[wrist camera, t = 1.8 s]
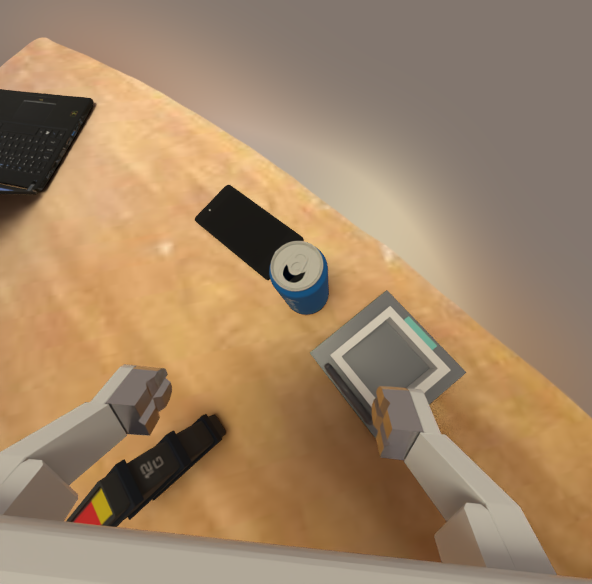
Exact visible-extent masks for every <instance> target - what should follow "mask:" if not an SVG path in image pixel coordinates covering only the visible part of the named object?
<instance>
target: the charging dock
mask: <svg viewBox="0 0 592 584" xmlns="http://www.w3.org/2000/svg"><path fill="white" fill-rule="evenodd" d="M310 354H311V355H312V356H313V358H314V359H315V360H316V362H317V363H318V364H319V366H320V367H321V368H322V369H323V371H324V372H325V373H326V375H327V376H328V377H329V379H330V380H331V381H332V382H333V384H334V385H335V386H336V388H337V389H338V390H339V392H340V393H341V394H342V395H343V397H344V398H345V399H346V401H347V402H348V403H349V405H350V406H351V407H352V408H353V410H354V411H355V412H356V414H357V415H358V416H359V418H360V419H361V420H362V421H363V423H364V424H365V425H366V427H367V428H368V429H369V431H370V432H371V433H372V434H373V436H374V437H375V438H376V436H377V433H378V430H377V429H376V428H375V427H374V425H373V420H372V404H373V400H374V399H375V398H377V394H376V391H377V388H378V387H379V386H386V387H401V388H409V389H421V390H422V391H423V392H424V394H425V397H426V399H427V401H428V404H430V403H431V402H433V401H434V400H435V399H436V398H437V397H438V396H440V395H441V394H442V393H443V392H444V391H445V390H447V389H448V388H449V387H450V386H451V385H452V384H454V383H455V382H456V381H457V380H458V379H459V378H461V377H462V376H463V375H464V374H465V373H466V372H465V371H464V370H463V369H462V367H461V366H460V365H459V364H458V363H457V362H456V361H455V360H454V359H453V358H452V357H451V356H450V355H449V354H448V353H447V352H446V351H445V350H444V349H443V348H442V347H441V346H440V345H439V344H438V343H437V342H436V341H435V339H434V338H433V337H432V336H431V335H430V334H429V333H428V332H427V331H426V330H425V329H424V328H423V327H422V326H421V325H420V324H419V323H418V322H417V321H416V320H415V319H414V318H413V317H412V316H411V315H410V314H409V313H408V312H407V310H406V309H405V308H404V307H403V306H402V305H401V304H400V303H399V302H398V301H397V300H396V299H395V298H394V297H393V296H392V295H391V294H390V293H389V292H388V291H387V290H386V291H385V292H384V293H383V294H381V295H380V296H379V297H378V298H377V299H375V300H374V301H373V302H372V303H370V304H369V305H368V306H367V307H365V308H364V309H363V310H362V311H361V312H359V313H358V314H357V315H356V316H354V317H353V318H352V319H351V320H350V321H348V322H347V323H346V324H345V325H343V326H342V327H341V328H340V329H338V330H337V331H336V332H335V333H334V334H332V335H331V336H330V337H329V338H327V339H326V340H325V341H324V342H322V343H321V344H320V345H319V346H318V347H316V348H315V349H314V350H313V351H311V352H310Z"/></svg>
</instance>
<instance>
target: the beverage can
mask: <svg viewBox="0 0 592 584" xmlns="http://www.w3.org/2000/svg"><path fill="white" fill-rule="evenodd" d="M269 274H270V279H271V282H272V284H273V286H274V287H275V289H276V290H277V291H278V292H279V294H280V295H281V296H282V298H283V299H284V300H285V301H286V303H287V304H288V305H289V307H290V308H291V309H292V310H294V311H295V312H297V313H299V314H305V315H307V314H313V313H316V312H318V311H319V310H321V309H322V308H323V307H324V305H325V304H326V302H327V300H328V295H329V289H328V266H327V262H326V259H325V257H324V255H323V254H322V252H321V251H320V250H319V249H317V248H316V247H314V246H313V245H312V244H310V243H307V242H304V241H293V242H289V243H287V244H285V245H283V246H282V247H280V248H279V249H278V250H277V251H276V252H275V254H274V256H273V258H272V261H271V264H270V269H269Z"/></svg>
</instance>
